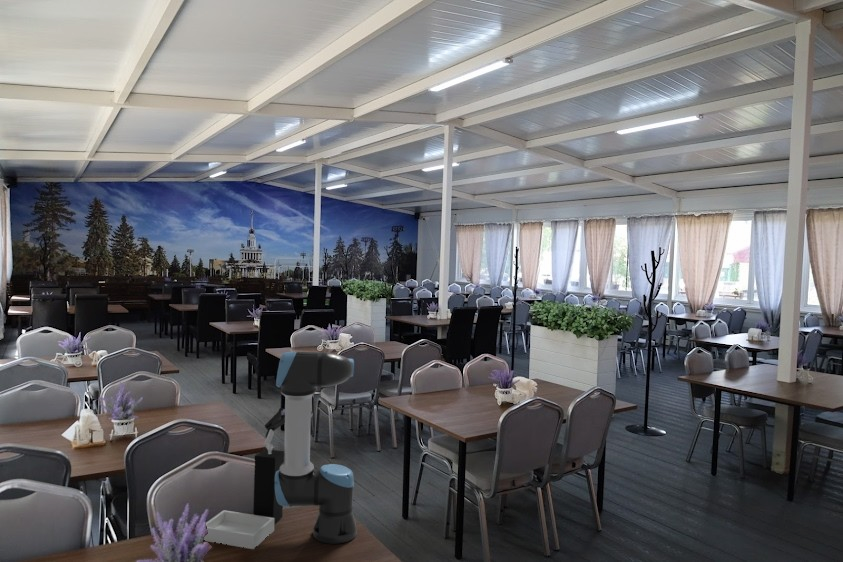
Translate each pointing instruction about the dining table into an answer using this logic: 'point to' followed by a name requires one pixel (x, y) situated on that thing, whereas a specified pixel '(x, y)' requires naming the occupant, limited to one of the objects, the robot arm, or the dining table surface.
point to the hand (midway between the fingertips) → (282, 448)
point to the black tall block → (267, 483)
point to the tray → (239, 529)
